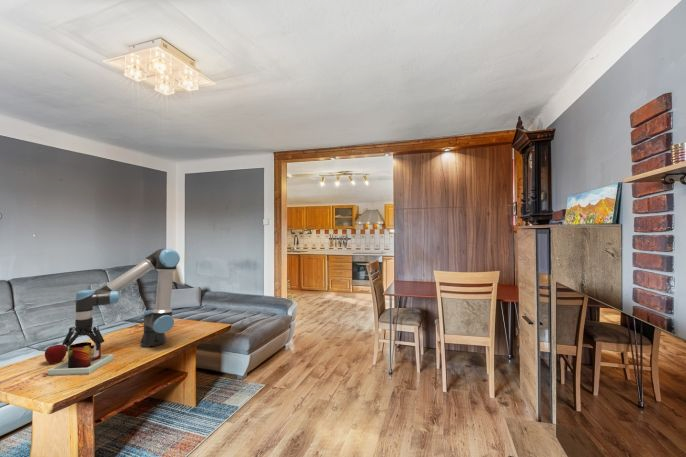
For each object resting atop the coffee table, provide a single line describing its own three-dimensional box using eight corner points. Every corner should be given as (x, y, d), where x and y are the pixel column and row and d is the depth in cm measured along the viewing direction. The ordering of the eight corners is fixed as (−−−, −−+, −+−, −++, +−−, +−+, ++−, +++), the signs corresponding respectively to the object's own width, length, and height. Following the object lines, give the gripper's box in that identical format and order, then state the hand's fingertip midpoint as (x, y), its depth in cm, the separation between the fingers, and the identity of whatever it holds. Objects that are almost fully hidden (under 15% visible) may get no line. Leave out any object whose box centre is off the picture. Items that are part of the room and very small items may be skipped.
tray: (113, 359, 182) (113, 354, 182) (88, 374, 162) (89, 368, 162) (77, 360, 180) (77, 355, 180) (47, 375, 160) (48, 370, 160)
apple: (62, 358, 185) (62, 341, 185) (69, 360, 180) (70, 343, 181) (41, 363, 176) (41, 346, 177) (48, 366, 172) (49, 348, 172)
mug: (101, 360, 178) (101, 339, 179) (80, 370, 165) (81, 348, 165) (84, 360, 179) (85, 339, 179) (62, 370, 165) (63, 348, 165)
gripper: (112, 315, 177) (111, 353, 176) (65, 317, 175) (64, 354, 174) (103, 319, 170) (102, 358, 169) (54, 320, 167) (53, 360, 167)
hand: (83, 356), depth 171 cm, fingers open, 13 cm apart
